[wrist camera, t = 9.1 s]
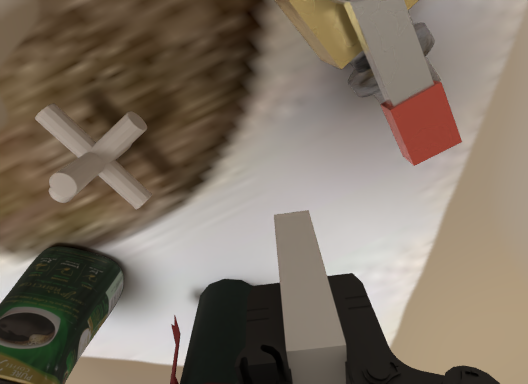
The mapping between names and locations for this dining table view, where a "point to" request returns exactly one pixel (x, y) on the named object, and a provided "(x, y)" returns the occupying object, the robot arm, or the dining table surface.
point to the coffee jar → (55, 314)
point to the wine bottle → (215, 335)
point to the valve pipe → (344, 40)
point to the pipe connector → (94, 156)
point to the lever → (403, 78)
